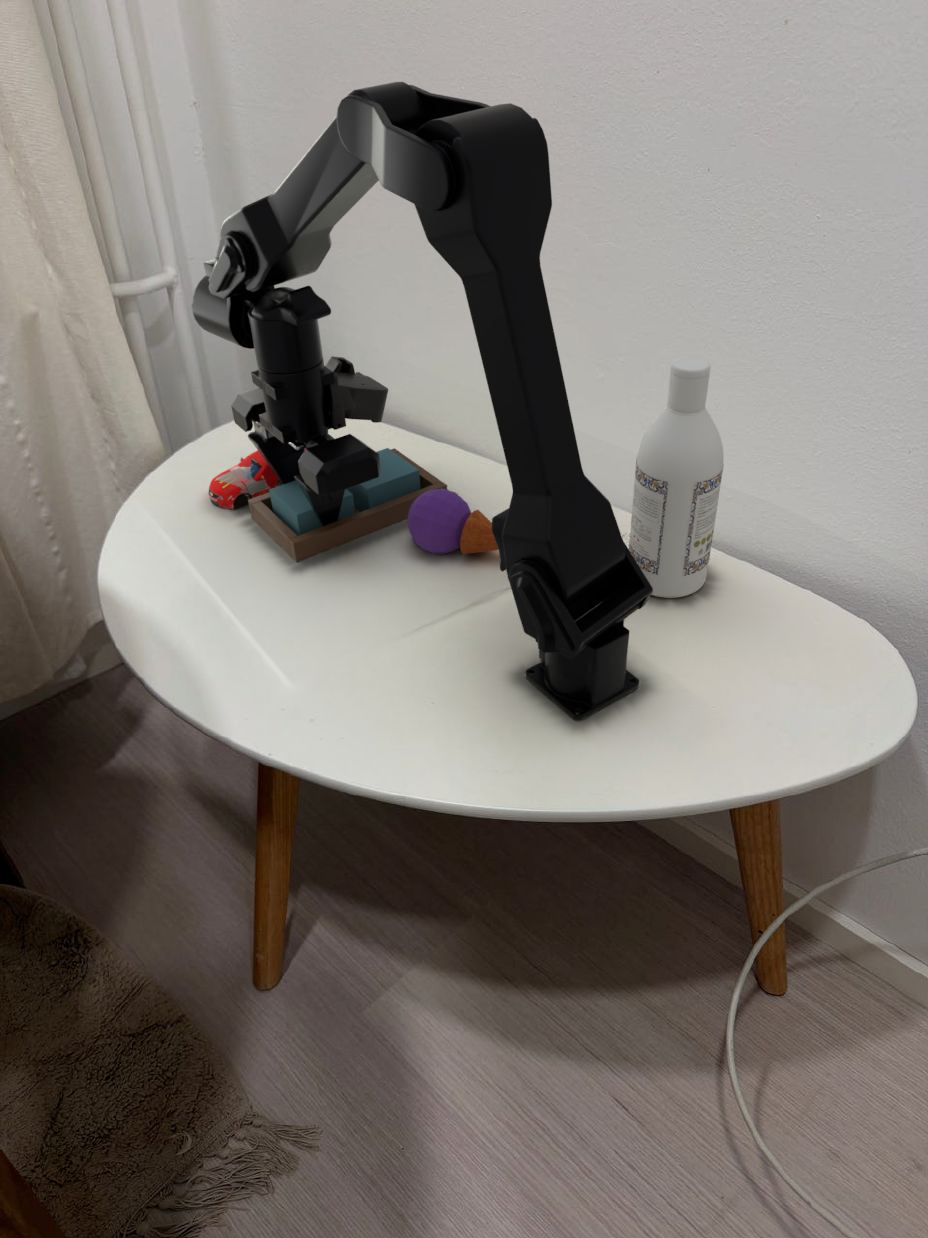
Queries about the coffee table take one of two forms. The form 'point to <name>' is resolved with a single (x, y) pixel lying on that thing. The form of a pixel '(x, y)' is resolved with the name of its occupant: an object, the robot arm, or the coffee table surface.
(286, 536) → the frame
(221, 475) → the race car
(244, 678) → the coffee table surface
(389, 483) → the teal square block
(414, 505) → the purple ice cream cone
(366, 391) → the robot arm
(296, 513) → the loose pad
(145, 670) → the coffee table surface
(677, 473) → the bath foam
